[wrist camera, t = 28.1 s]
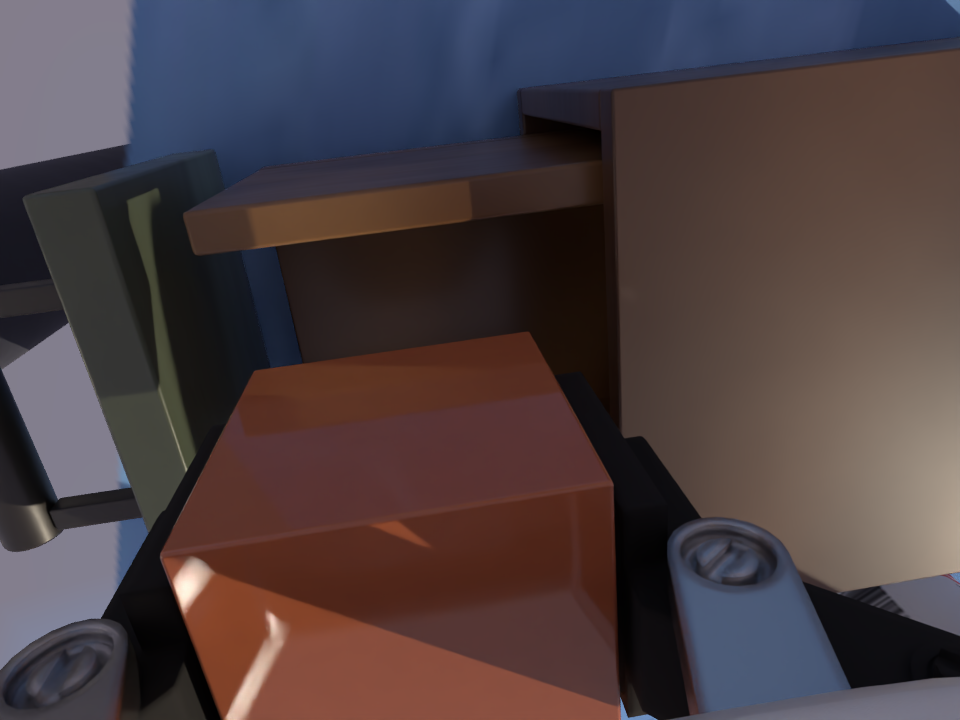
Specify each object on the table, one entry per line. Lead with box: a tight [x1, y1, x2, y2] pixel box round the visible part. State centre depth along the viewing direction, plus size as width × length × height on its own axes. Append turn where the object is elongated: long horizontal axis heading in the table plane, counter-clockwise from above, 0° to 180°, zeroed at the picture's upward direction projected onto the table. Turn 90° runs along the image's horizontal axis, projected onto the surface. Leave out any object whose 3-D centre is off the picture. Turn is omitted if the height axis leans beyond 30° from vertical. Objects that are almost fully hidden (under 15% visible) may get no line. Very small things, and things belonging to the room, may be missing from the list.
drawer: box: [0, 128, 610, 552], centre depth 17 cm, size 18×10×8 cm, turn 97°
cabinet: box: [517, 37, 960, 593], centre depth 17 cm, size 14×11×9 cm
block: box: [160, 332, 621, 720], centre depth 9 cm, size 4×4×4 cm
